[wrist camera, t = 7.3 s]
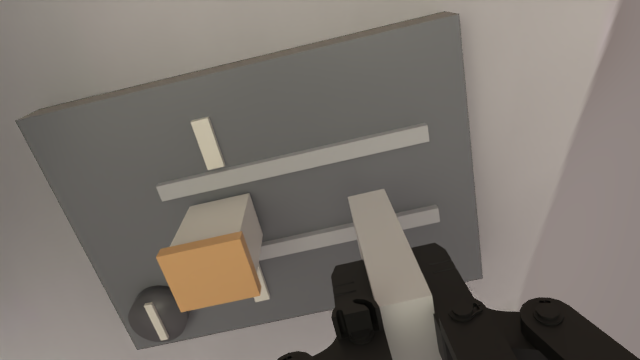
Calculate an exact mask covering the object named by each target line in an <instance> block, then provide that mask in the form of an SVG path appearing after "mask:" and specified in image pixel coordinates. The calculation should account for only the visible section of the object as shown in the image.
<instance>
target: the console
mask: <svg viewBox="0 0 640 360" xmlns="http://www.w3.org/2000/svg"><path fill="white" fill-rule="evenodd" d="M16 123H17V125H18V127H19V129H20V130H21V132H22V134H23V136H24V138H25V140H26V142H27V144H28V145H29V147H30V149H31V151H32V153H33V155H34V157H35V159H36V161H37V162H38V164H39V166H40V168H41V170H42V172H43V174H44V176H45V177H46V179H47V181H48V183H49V185H50V187H51V189H52V191H53V193H54V194H55V196H56V198H57V200H58V202H59V204H60V206H61V208H62V209H63V211H64V213H65V215H66V217H67V219H68V221H69V223H70V224H71V226H72V228H73V230H74V232H75V234H76V236H77V238H78V240H79V241H80V243H81V245H82V247H83V249H84V251H85V253H86V255H87V256H88V258H89V260H90V262H91V264H92V266H93V268H94V270H95V272H96V273H97V275H98V277H99V279H100V281H101V283H102V285H103V287H104V288H105V290H106V292H107V294H108V296H109V298H110V300H111V302H112V303H113V305H114V307H115V309H116V311H117V313H118V315H119V317H120V319H121V320H122V322H123V324H124V326H125V328H126V330H127V332H128V334H129V335H130V337H131V339H132V341H133V343H134V345H135V347H136V349H137V350H139V349H144V348H149V347H154V346H159V345H163V344H168V343H173V342H178V341H183V340H188V339H192V338H197V337H202V336H207V335H212V334H216V333H221V332H226V331H231V330H236V329H241V328H245V327H250V326H255V325H260V324H265V323H270V322H274V321H279V320H284V319H289V318H294V317H299V316H303V315H308V314H313V313H318V312H323V311H328V310H332V309H334V308H335V302H334V294H333V287H332V280H331V275H332V273H333V270H334V268H335V266H336V265H341V264H345V263H350V262H354V261H359V260H362V258H361V255H360V250H359V246H358V241H357V237H356V232H355V228H354V223H353V219H352V214H351V210H350V205H349V201H348V197H349V196H354V195H358V194H363V193H367V192H371V191H376V190H380V189H384V190H385V192H386V194H387V196H388V198H389V201H390V203H391V205H392V207H393V210H394V212H395V214H396V216H397V218H398V221H399V223H400V225H401V227H402V230H403V232H404V234H405V236H406V238H407V241H408V243H409V245H410V247H411V248H413V247H417V246H422V245H426V244H431V243H436V244H438V245H440V246H441V247H443V248H444V249H446V251H447V253H448V254H449V256H450V258H451V260H452V261H453V263H454V265H455V267H456V269H457V270H458V272H459V273H460V275H461V277H462V279H463V280H464V282H468V281H472V280H477V279H482V278H483V275H482V264H481V253H480V242H479V231H478V220H477V209H476V198H475V186H474V175H473V164H472V153H471V142H470V131H469V120H468V109H467V97H466V86H465V75H464V64H463V53H462V42H461V31H460V20H459V14H456V13H451V12H445V11H444V12H440V13H436V14H432V15H428V16H424V17H420V18H415V19H411V20H407V21H403V22H399V23H395V24H391V25H386V26H382V27H378V28H374V29H370V30H366V31H362V32H357V33H353V34H349V35H345V36H341V37H337V38H333V39H328V40H324V41H320V42H316V43H312V44H308V45H304V46H299V47H295V48H291V49H287V50H283V51H279V52H275V53H270V54H266V55H262V56H258V57H254V58H250V59H246V60H241V61H237V62H233V63H229V64H225V65H221V66H217V67H212V68H208V69H204V70H200V71H196V72H192V73H187V74H183V75H179V76H175V77H171V78H167V79H163V80H158V81H154V82H150V83H146V84H142V85H138V86H134V87H129V88H125V89H121V90H117V91H113V92H109V93H105V94H100V95H96V96H92V97H88V98H84V99H80V100H76V101H71V102H67V103H63V104H59V105H55V106H51V107H47V108H42V109H39V110H37V111H35V112H33V113H31V114H28V115H26V116H24V117H22V118H20V119H18V120H16ZM247 193H250V196H251V200H252V203H253V206H254V209H255V212H256V215H257V218H258V221H259V224H260V227H261V230H262V233H263V238H262V244H261V251H260V257H259V264H258V271H257V275H258V278H259V281H260V284H261V294H260V296H257V297H252V298H247V299H243V300H238V301H233V302H228V303H224V304H219V305H214V306H209V307H205V308H200V309H195V310H190V311H186V312H181V311H180V309H179V307H178V305H177V303H176V300H175V298H174V296H173V294H172V292H171V289H170V287H169V285H168V283H167V281H166V278H165V276H164V274H163V272H162V270H161V267H160V265H159V263H158V261H157V259H156V256H157V254H158V252H159V251H160V249H162V248H167V247H170V245H171V243H172V241H173V239H174V237H175V235H176V233H177V231H178V229H179V227H180V225H181V223H182V221H183V219H184V217H185V215H186V213H187V211H188V209H189V207H190V206H194V205H198V204H202V203H207V202H211V201H216V200H220V199H225V198H229V197H234V196H238V195H243V194H247Z"/></svg>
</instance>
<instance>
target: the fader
mask: <svg viewBox="0 0 640 360" xmlns="http://www.w3.org/2000/svg"><path fill="white" fill-rule="evenodd" d="M262 238H263V233H262V230H261V227H260V224H259V221H258V218H257V215H256V212H255V209H254V206H253V203H252V200H251V196H250V193H247V194H243V195H238V196H234V197H229V198H225V199H220V200H216V201H211V202H207V203H202V204H198V205H194V206H190V207H189V209H188V211H187V213H186V215H185V217H184V219H183V221H182V223H181V225H180V227H179V229H178V231H177V233H176V235H175V237H174V239H173V241H172V243H171V245H170V247H167V248H162V249H160V251H159V252H158V254H157V256H156V259H157V261H158V263H159V265H160V267H161V270H162V272H163V274H164V276H165V278H166V281H167V283H168V285H169V287H170V289H171V292H172V294H173V296H174V298H175V300H176V303H177V305H178V307H179V309H180V311H181V312H186V311H190V310H195V309H200V308H205V307H209V306H214V305H219V304H224V303H228V302H233V301H238V300H243V299H247V298H252V297H257V296H260V294H261V284H260V281H259V278H258V275H257V271H258V264H259V257H260V251H261V244H262Z"/></svg>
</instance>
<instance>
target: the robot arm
mask: <svg viewBox="0 0 640 360" xmlns="http://www.w3.org/2000/svg"><path fill="white" fill-rule="evenodd" d="M348 201H349V205H350V210H351V214H352V219H353V223H354V228H355V232H356V237H357V241H358V246H359V250H360V255H361V258H362V260H359V261H354V262H350V263H345V264H341V265H336V266H335V268H334V270H333V273H332V275H331V280H332V287H333V294H334V302H335V308H334V309H333V311H332V321H333V325H334V328H335V332H336V335H337V337H336V339H335V340H334V342H333V343H332V344H331V345H330V346H329V347H328V348H327V349H325V350H324V351H322V352H320V353H319V354H317V355H315V356H313V357H312V356H311V355H309V354H308V353H306V352H299V351H296V352H291V353H287V354H285V355H283V356H281V357H280V358H279V359H277V360H441V358H442V360H640V359H639V358H637V357H636V356H635V355H633V354H632V353H631V352H629V351H628V350H627V349H625V348H624V347H623V346H621V345H620V344H619V343H617V342H616V341H615V340H614V339H612V338H611V337H610V336H608V335H607V334H606V333H604V332H603V331H602V330H600V329H599V328H598V327H596V326H595V325H594V324H592V323H591V322H590V321H589V320H587V319H586V318H585V317H583V316H582V315H581V314H579V313H578V312H577V311H575V310H574V309H573V308H572V307H570V306H569V305H567V304H565V303H563V302H562V301H559V300H555V299H551V298H535V299H531V300H528V301H527V302H526V303H524V304H523V305H522V307H521V309H520V312H505V311H496V310H492V309H489V308H486V307H485V306H484V304H483V303H482V302H480V301H478V300H476V299H474V297H473V296H472V294H471V293H470V291H469V289H468V287H467V286H466V284H465V282H464V280H463V279H462V277H461V275H460V273H459V272H458V270H457V269H456V267H455V265H454V263H453V261H452V260H451V258H450V256H449V254H448V253H447V251H446V249H444V248H443V247H441V246H440V245H438V244H436V243H431V244H426V245H422V246H417V247H413V248H411V247H410V245H409V243H408V241H407V238H406V236H405V234H404V232H403V230H402V227H401V225H400V223H399V221H398V218H397V216H396V214H395V212H394V210H393V207H392V205H391V203H390V201H389V198H388V196H387V194H386V192H385V190H384V189H380V190H376V191H371V192H367V193H363V194H358V195H354V196H349V197H348Z"/></svg>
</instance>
